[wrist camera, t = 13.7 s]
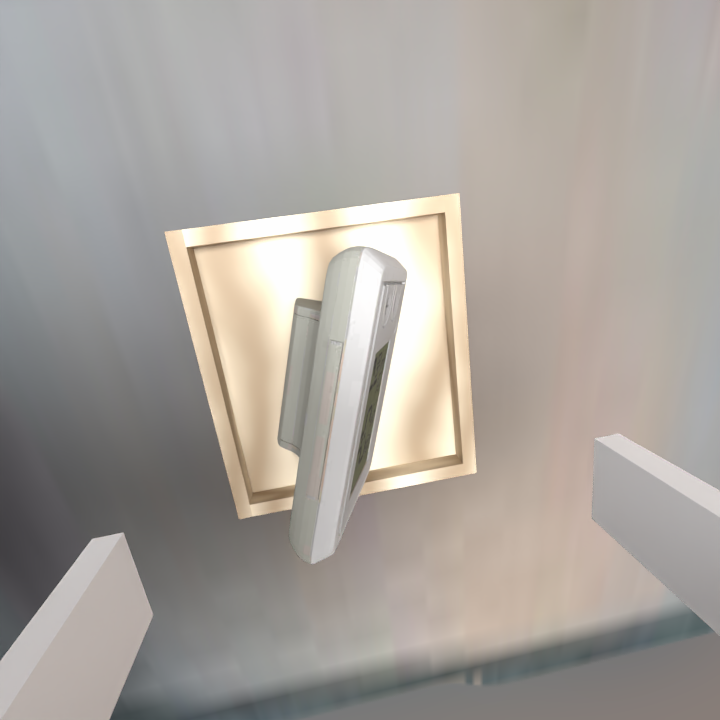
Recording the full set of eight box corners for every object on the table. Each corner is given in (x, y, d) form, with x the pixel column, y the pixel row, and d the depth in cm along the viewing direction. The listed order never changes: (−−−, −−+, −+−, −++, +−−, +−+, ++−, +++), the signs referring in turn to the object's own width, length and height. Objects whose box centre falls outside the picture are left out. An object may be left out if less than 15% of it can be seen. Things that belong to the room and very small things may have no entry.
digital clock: (359, 478, 30) (385, 590, 20) (245, 446, 28) (209, 552, 18) (442, 279, 27) (523, 292, 17) (320, 229, 25) (327, 209, 15)
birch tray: (244, 498, 31) (238, 519, 28) (178, 234, 25) (164, 231, 23) (463, 456, 32) (476, 472, 30) (445, 198, 27) (459, 193, 24)
